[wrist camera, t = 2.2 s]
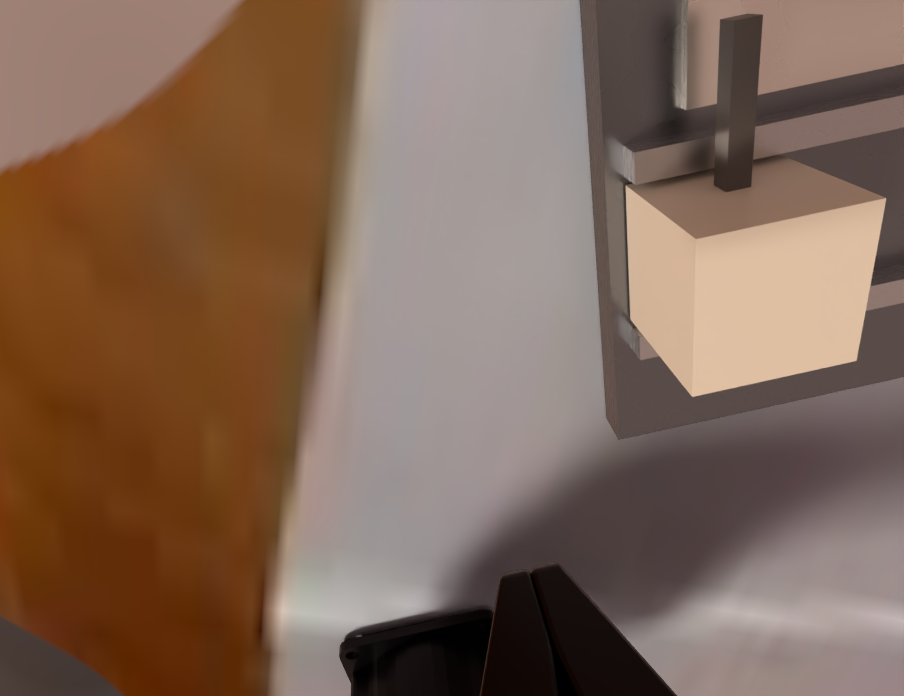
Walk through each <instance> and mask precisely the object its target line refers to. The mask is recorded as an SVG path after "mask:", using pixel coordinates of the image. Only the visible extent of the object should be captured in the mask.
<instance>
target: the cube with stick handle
mask: <svg viewBox="0 0 904 696" xmlns="http://www.w3.org/2000/svg"><path fill="white" fill-rule="evenodd" d="M762 23H763V15H762V14H749V13H747V14H743V15H738V16H733V17H728V18H724V19H720V33H719V59H718V86H717V112H716V138H715V164H714V168H713V169H708V170H703V171H699V172H694V173H689V174H685V175H680V176H675V177H671V178H666V179H661V180H657V181H652V182H648V183H643V184H638V185H635V184H629V185H626V212H627V240H628V268H629V296H630V320H631V321H632V322H633V323H634V325H635V326H636V327H637V328H638V330H639V331H640V332H641V333H642V335H643V336H644V337H645V338H646V340H647V341H648V342H649V343H650V345H651V346H652V347H653V348H654V350H655V351H656V352H657V354H658V355H659V356H660V357H661V359H662V360H663V361H664V362H665V364H666V365H667V366H668V367H669V369H670V370H671V371H672V372H673V374H674V375H675V376H676V377H677V379H678V380H679V381H680V382H681V384H682V385H683V386H684V387H685V389H686V390H687V391H688V392H689V394H690V395H691V396H692V397H695V396H699V395H704V394H708V393H713V392H717V391H722V390H726V389H731V388H736V387H740V386H745V385H749V384H754V383H758V382H763V381H767V380H772V379H777V378H781V377H786V376H790V375H795V374H799V373H804V372H808V371H813V370H817V369H822V368H827V367H831V366H836V365H840V364H845V363H849V362H854V361H857V355H858V350H859V344H860V339H861V334H862V328H863V323H864V317H865V312H866V306H867V301H868V296H869V290H870V285H871V279H872V274H873V268H874V263H875V258H876V252H877V247H878V241H879V236H880V230H881V225H882V220H883V214H884V209H885V203H886V198H885V197H883V196H880V195H878V194H875V193H873V192H870V191H868V190H866V189H863V188H861V187H858V186H856V185H853V184H851V183H848V182H846V181H844V180H841V179H839V178H836V177H834V176H831V175H829V174H826V173H824V172H822V171H819V170H817V169H814V168H812V167H809V166H807V165H804V164H802V163H800V162H797V161H795V160H792V159H790V158H787V157H785V156H782V155H780V154H778V155H773V156H769V157H764V158H759V159H755V160H753V153H754V138H755V124H756V110H757V95H758V81H759V66H760V52H761V38H762Z"/></svg>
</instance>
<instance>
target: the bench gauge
mask: <svg viewBox="0 0 904 696" xmlns="http://www.w3.org/2000/svg"><path fill="white" fill-rule="evenodd" d="M580 12H581V27H582V43H583V59H584V74H585V90H586V106H587V121H588V137H589V152H590V168H591V184H592V199H593V215H594V231H595V246H596V262H597V278H598V293H599V309H600V324H601V340H602V356H603V371H604V387H605V403H606V418H607V420H608V422H609V423H610V425H611V427H612V429H613V431H614V432H615V434H616V436H617V438H618V440H620V439H624V438H629V437H633V436H638V435H642V434H647V433H651V432H656V431H660V430H665V429H669V428H674V427H679V426H683V425H688V424H692V423H697V422H701V421H706V420H710V419H715V418H719V417H724V416H728V415H733V414H738V413H742V412H747V411H751V410H756V409H760V408H765V407H769V406H774V405H778V404H783V403H787V402H792V401H796V400H801V399H806V398H810V397H815V396H819V395H824V394H828V393H833V392H837V391H842V390H846V389H851V388H855V387H860V386H864V385H869V384H874V383H878V382H883V381H887V380H892V379H896V378H901V377H904V0H580ZM747 13H749V14H762V15H763V23H762V38H761V52H760V66H759V81H758V95H757V110H756V124H755V138H754V153H753V160H755V159H759V158H764V157H769V156H773V155H778V154H780V155H782V156H785V157H787V158H790V159H792V160H795V161H797V162H800V163H802V164H804V165H807V166H809V167H812V168H814V169H817V170H819V171H822V172H824V173H826V174H829V175H831V176H834V177H836V178H839V179H841V180H844V181H846V182H848V183H851V184H853V185H856V186H858V187H861V188H863V189H866V190H868V191H870V192H873V193H875V194H878V195H880V196H883V197H885V198H886V203H885V209H884V214H883V220H882V225H881V230H880V236H879V241H878V247H877V252H876V258H875V263H874V268H873V274H872V279H871V285H870V290H869V296H868V301H867V306H866V312H865V317H864V323H863V328H862V334H861V339H860V344H859V350H858V355H857V361H854V362H849V363H845V364H840V365H836V366H831V367H827V368H822V369H817V370H813V371H808V372H804V373H799V374H795V375H790V376H786V377H781V378H777V379H772V380H767V381H763V382H758V383H754V384H749V385H745V386H740V387H736V388H731V389H726V390H722V391H717V392H713V393H708V394H704V395H699V396H695V397H692V396H691V395H690V394H689V392H688V391H687V390H686V389H685V387H684V386H683V385H682V384H681V382H680V381H679V380H678V379H677V377H676V376H675V375H674V374H673V372H672V371H671V370H670V369H669V367H668V366H667V365H666V364H665V362H664V361H663V360H662V359H661V357H660V356H659V355H658V354H657V352H656V351H655V350H654V348H653V347H652V346H651V345H650V343H649V342H648V341H647V340H646V338H645V337H644V336H643V335H642V333H641V332H640V331H639V330H638V328H637V327H636V326H635V325H634V323H633V322H632V321H631V320H630V296H629V268H628V240H627V212H626V185H629V184H635V185H638V184H643V183H648V182H652V181H657V180H661V179H666V178H671V177H675V176H680V175H685V174H689V173H694V172H699V171H703V170H708V169H713V168H714V164H715V138H716V112H717V86H718V59H719V33H720V19H724V18H728V17H733V16H738V15H743V14H747Z"/></svg>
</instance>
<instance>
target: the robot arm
mask: <svg viewBox="0 0 904 696" xmlns="http://www.w3.org/2000/svg"><path fill="white" fill-rule="evenodd" d="M339 656H340V660H341V662H342V665H343V667H344V669H345V671H346V673H347V676H348V678H349V680H350V682H351V696H677V695H676V694H675V693H674V692H673V691H672V689H671V688H670V687H669V686H668V685H667V684H666V683H665V682H664V680H663V679H662V678H661V677H660V676H659V675H658V674H657V673H656V671H655V670H654V669H653V668H652V667H651V666H650V665H649V664H648V662H647V661H646V660H645V659H644V658H643V657H642V656H641V655H640V654H639V652H638V651H637V650H636V649H635V648H634V647H633V646H632V645H631V643H630V642H629V641H628V640H627V639H626V638H625V637H624V636H623V634H622V633H621V632H620V631H619V630H618V629H617V628H616V627H615V625H614V624H613V623H612V622H611V621H610V620H609V619H608V618H607V617H606V615H605V614H604V613H603V612H602V611H601V610H600V609H599V608H598V606H597V605H596V604H595V603H594V602H593V601H592V600H591V599H590V597H589V596H588V595H587V594H586V593H585V592H584V591H583V590H582V588H581V587H580V586H579V585H578V584H577V583H576V582H575V581H574V579H573V578H572V577H571V576H570V575H569V574H568V573H567V572H566V571H565V569H564V568H563V567H562V566H560V565H559V564H557V563H551V564H546V565H542V566H537V567H534V568H532V569H531V571H530V572H529V571H528V570H519V571H515V572H510V573H506V574H503V575H502V576H501V578H500V580H499V586H498V592H497V598H496V603H495V609H494V613H493V612H492V611H490V610H486V609H485V610H478V611H474V612H469V613H465V614H460V615H456V616H451V617H447V618H442V619H438V620H433V621H429V622H424V623H420V624H416V625H411V626H407V627H402V628H398V629H393V630H389V631H384V632H380V633H375V634H371V635H366V636H362V637H357V638H353V639H349V640H346V641H344V642H343V643H341V645H340V653H339Z"/></svg>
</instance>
